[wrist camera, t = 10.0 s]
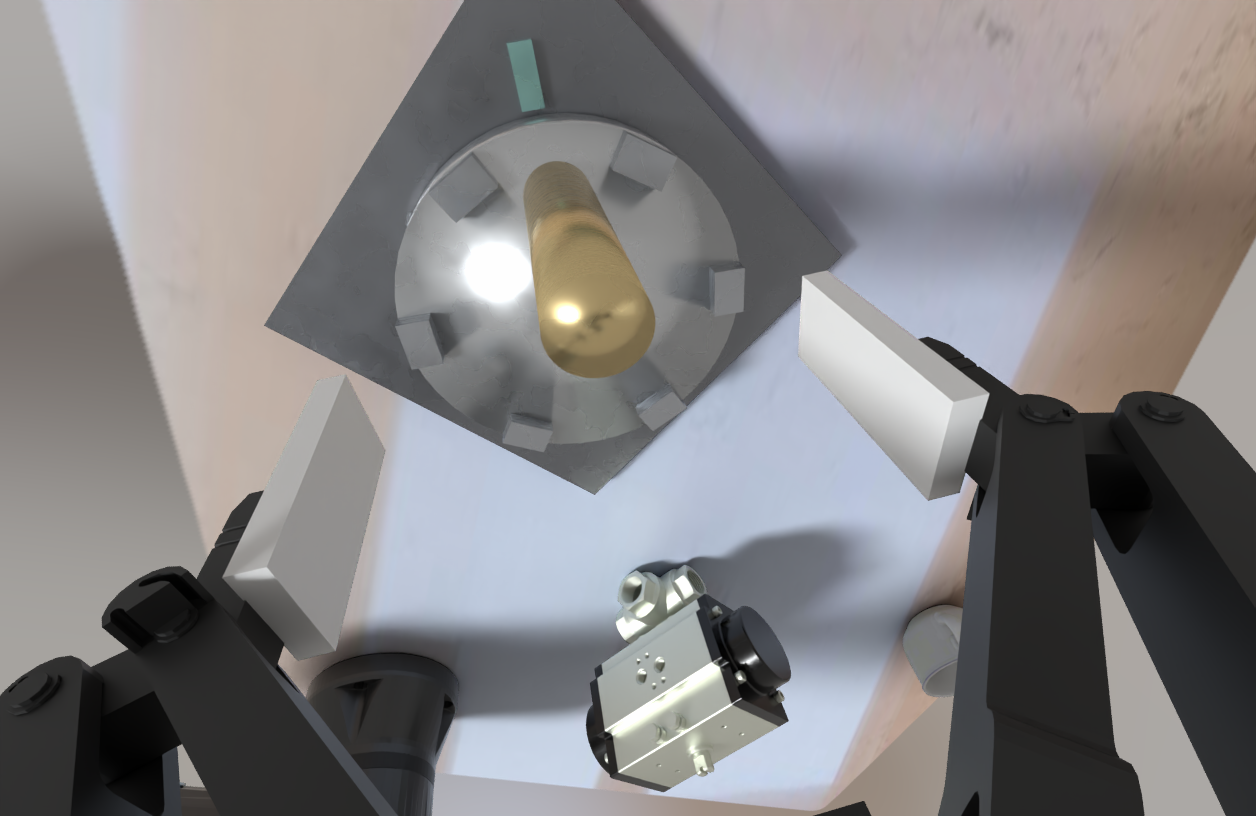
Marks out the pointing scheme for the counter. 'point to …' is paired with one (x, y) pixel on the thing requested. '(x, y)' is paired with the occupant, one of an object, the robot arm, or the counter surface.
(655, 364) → the silver tabbed disc
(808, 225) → the base plate
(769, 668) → the ball valve
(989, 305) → the counter surface
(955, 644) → the teacup
